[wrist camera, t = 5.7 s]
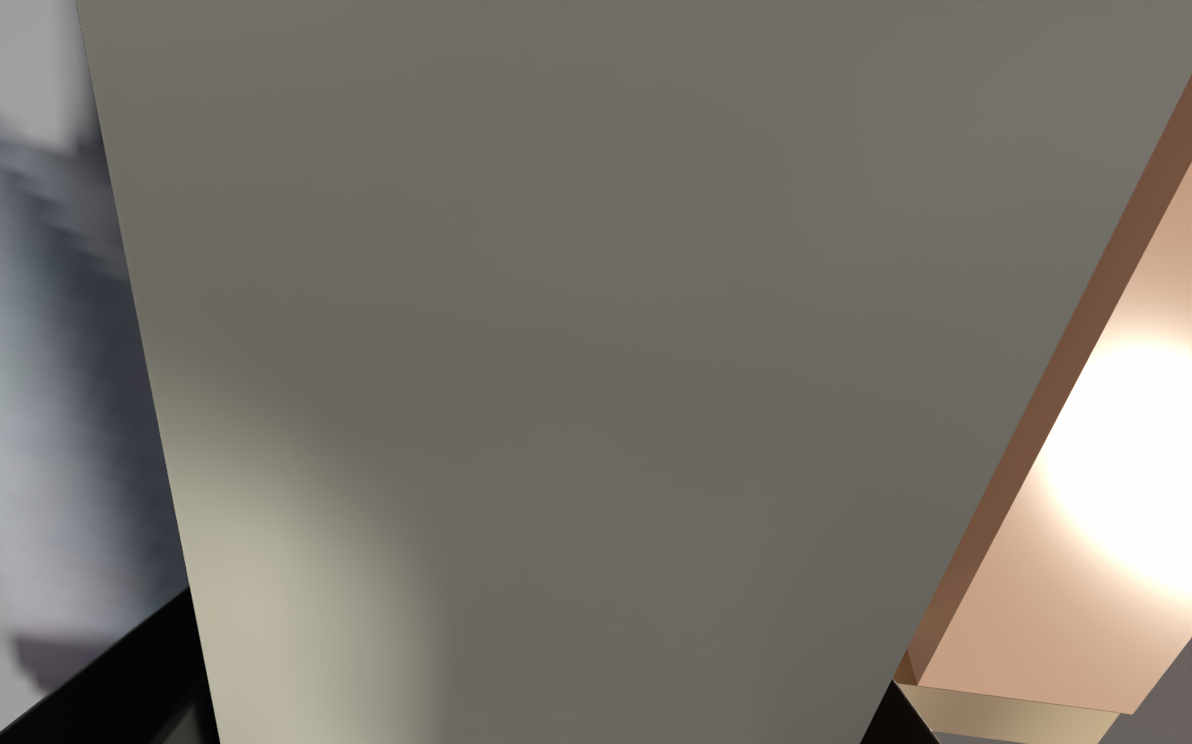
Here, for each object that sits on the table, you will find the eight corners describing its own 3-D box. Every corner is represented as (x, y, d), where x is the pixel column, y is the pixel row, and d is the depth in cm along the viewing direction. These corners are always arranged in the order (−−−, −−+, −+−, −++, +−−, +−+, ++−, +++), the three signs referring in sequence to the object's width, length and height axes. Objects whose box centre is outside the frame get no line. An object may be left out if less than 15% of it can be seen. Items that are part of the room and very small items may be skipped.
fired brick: (1528, -210, 13) (1833, -203, 9) (1060, 569, 22) (1132, 714, 18) (1218, -257, 13) (1416, -266, 9) (878, 545, 22) (917, 685, 18)
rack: (1830, -448, 12) (2280, -533, 9) (1101, 632, 24) (1170, 769, 21) (333, -683, 12) (199, -865, 8) (369, 533, 24) (321, 656, 21)
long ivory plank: (1049, -442, 6) (1594, -737, 2) (651, 854, 15) (647, 1170, 11) (342, -553, 6) (-124, -1020, 2) (378, 819, 15) (296, 1127, 11)
